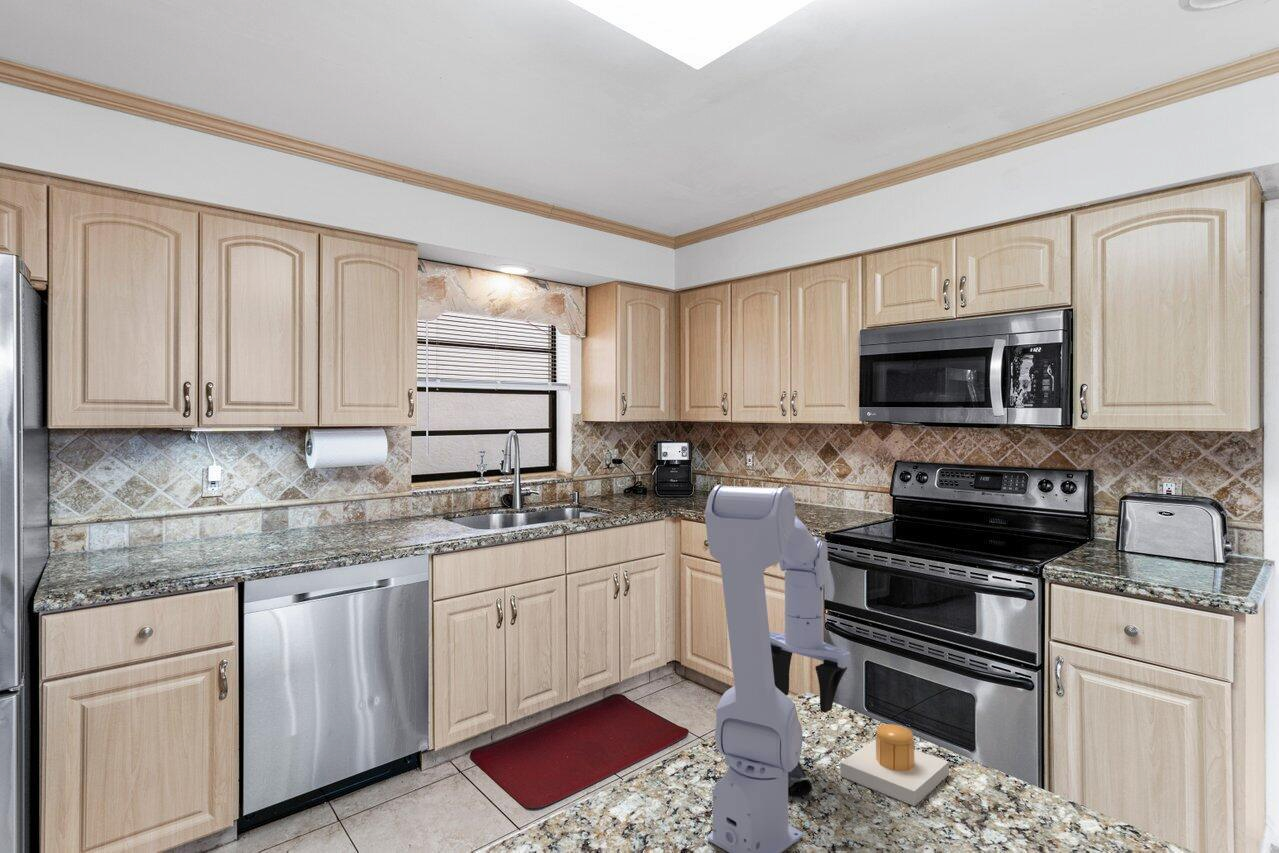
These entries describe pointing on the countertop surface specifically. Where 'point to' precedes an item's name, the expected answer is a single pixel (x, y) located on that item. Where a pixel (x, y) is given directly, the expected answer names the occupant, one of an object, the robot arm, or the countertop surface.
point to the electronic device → (799, 781)
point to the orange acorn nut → (895, 747)
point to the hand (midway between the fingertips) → (804, 702)
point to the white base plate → (895, 774)
